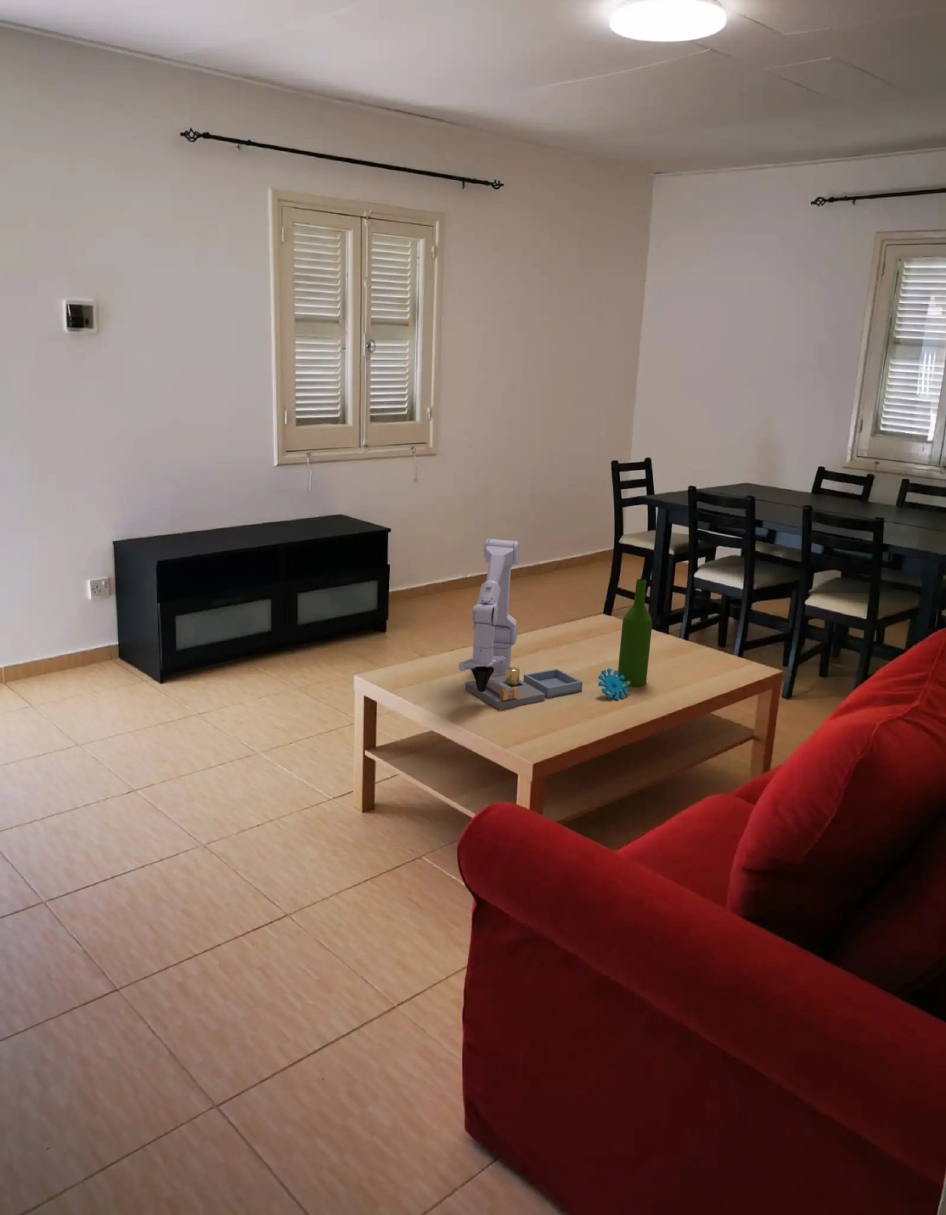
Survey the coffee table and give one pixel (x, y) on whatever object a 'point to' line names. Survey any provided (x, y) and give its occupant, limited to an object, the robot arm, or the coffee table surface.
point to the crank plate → (525, 697)
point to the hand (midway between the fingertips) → (480, 690)
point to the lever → (502, 689)
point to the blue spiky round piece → (613, 684)
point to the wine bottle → (635, 640)
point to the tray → (553, 682)
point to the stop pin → (512, 676)
